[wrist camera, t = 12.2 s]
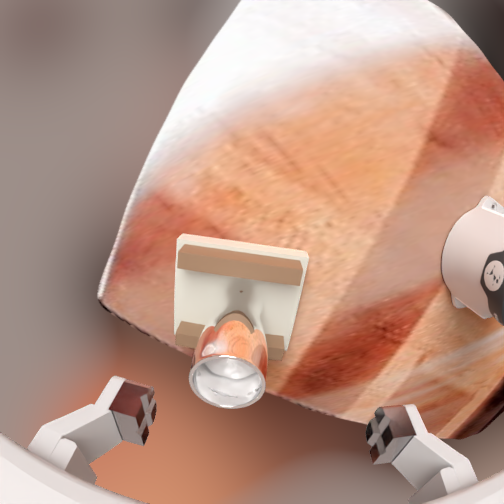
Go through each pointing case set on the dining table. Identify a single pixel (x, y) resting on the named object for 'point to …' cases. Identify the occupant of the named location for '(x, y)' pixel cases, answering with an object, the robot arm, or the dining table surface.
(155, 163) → the dining table surface
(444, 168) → the dining table surface
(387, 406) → the robot arm
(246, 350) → the beer glass
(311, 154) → the dining table surface
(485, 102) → the dining table surface
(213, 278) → the stand
